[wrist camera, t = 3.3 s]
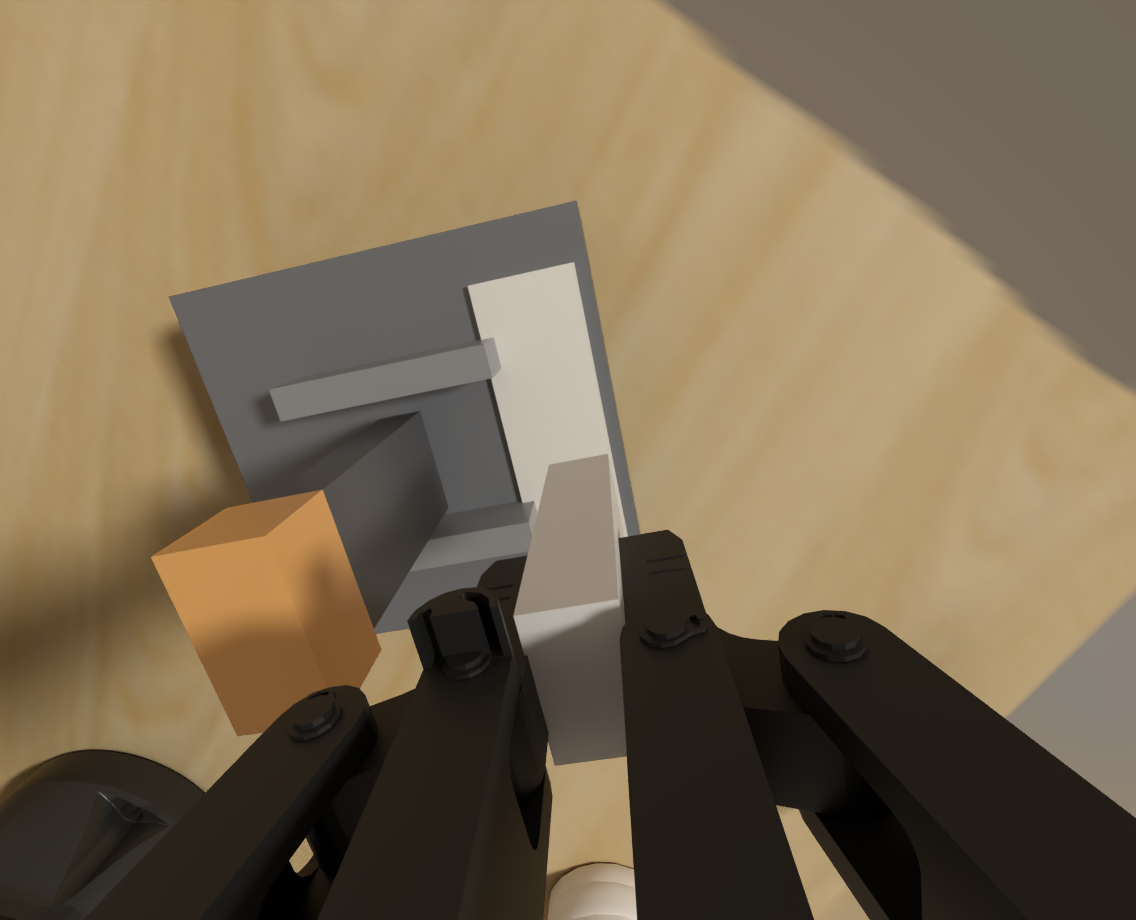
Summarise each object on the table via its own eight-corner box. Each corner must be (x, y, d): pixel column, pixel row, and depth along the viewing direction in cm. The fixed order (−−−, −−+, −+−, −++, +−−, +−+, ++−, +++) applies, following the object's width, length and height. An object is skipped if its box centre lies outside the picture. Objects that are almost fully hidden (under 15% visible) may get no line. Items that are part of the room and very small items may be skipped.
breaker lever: (402, 520, 23) (237, 736, 12) (368, 415, 22) (150, 556, 11) (459, 510, 23) (341, 721, 12) (428, 403, 21) (265, 535, 11)
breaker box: (357, 582, 32) (284, 678, 24) (251, 291, 27) (119, 299, 20) (640, 534, 30) (655, 622, 23) (580, 214, 26) (574, 192, 18)
